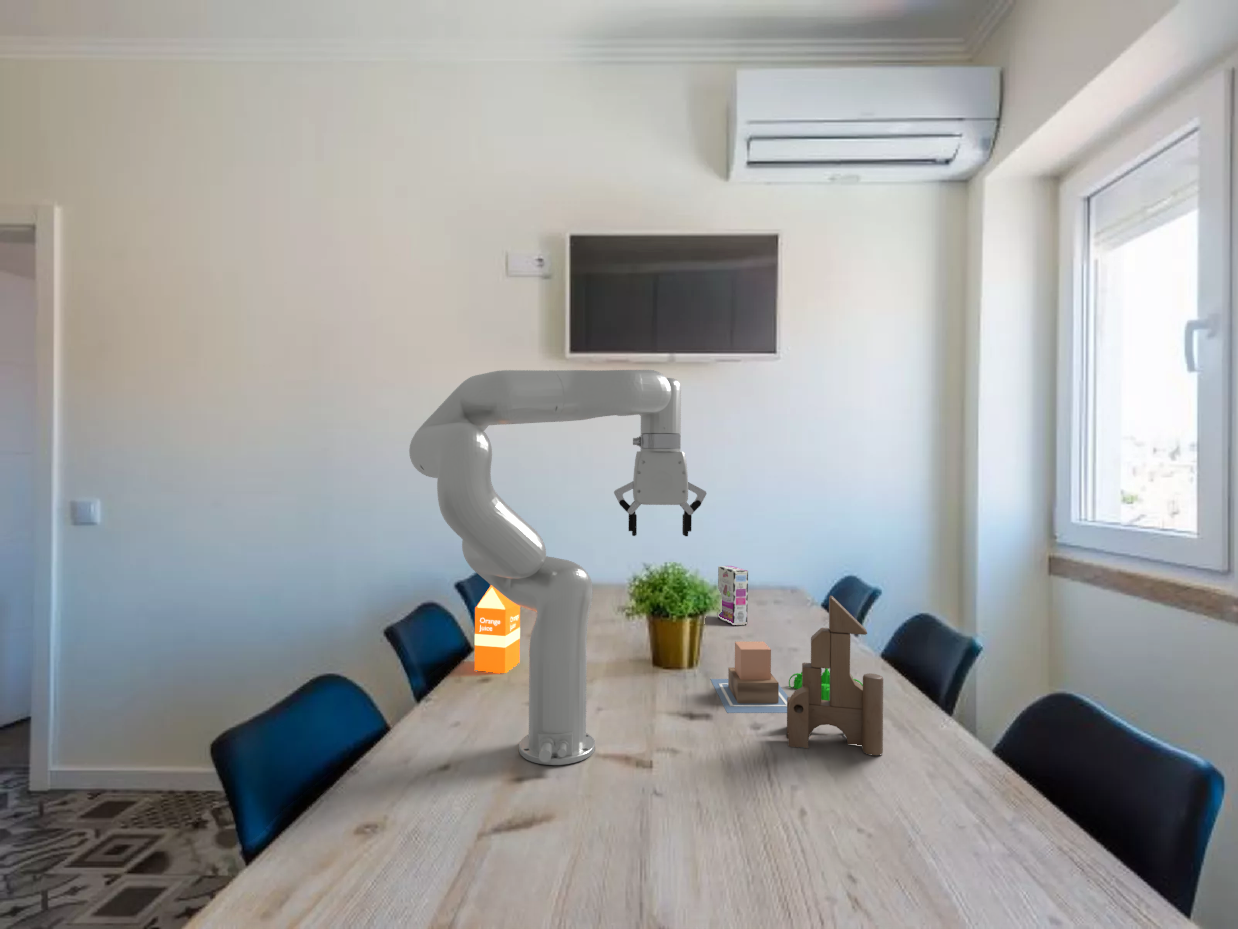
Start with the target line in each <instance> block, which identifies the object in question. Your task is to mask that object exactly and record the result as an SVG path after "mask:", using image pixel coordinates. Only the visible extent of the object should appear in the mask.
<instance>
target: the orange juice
mask: <svg viewBox="0 0 1238 929" xmlns="http://www.w3.org/2000/svg"><path fill="white" fill-rule="evenodd" d="M520 640H521V606H518V605H516V604H515V603H513V602H512V601H510V600H509V599H508V598H506V597H505V596H504V595H503V594H501V593H500V592H499V591H498V590H497V589H495V588H494V587H493V586H492V585H491V584H490V585H489V588H488V589H487V591H486V592H485V594H484V595H483V596H482V598H481V599H480V601H479V602H478V603H477V605H476V606H475V607H474V671H475V670H478V671H486V672H485V673H488V672H493V673H492V674H500V673H506V674H507V673H508V672H509V670H510V671H511V670H512V669H514V668H515V667H516V666H518V665H519V664H520V662H521V661H520V656H521V655H520V651H521V650H520V646H521V645H520V643H521V641H520ZM518 663H519V664H518ZM517 664H518V665H517ZM513 667H514V668H513Z"/></svg>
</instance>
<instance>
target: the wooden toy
mask: <svg viewBox="0 0 1238 929" xmlns="http://www.w3.org/2000/svg"><path fill="white" fill-rule="evenodd" d="M851 635H863V636H864V635H865V636H866V635H868V632H867V629H866V627H864V626H863V625H862V624H861V622H859V621H858V620H857V619H856V618H855V617H854V616H853V615H852V614H851V613H850V612H849V611H848V610H847V609H846V608H845V606H843V605H842V604H841V603H840V602H839V601H838V600H837V599H836V598H835V597H834V596H833V595H829V598H828V627H820V628H819V629H818V630H817V631H816V632H815V633H814V634H813V635H811V637H810V662H802V664H801V672H802V687H801V688H799V689H798V690H797V689H796V690H795V691H794V692H793V693H792V694H791V696H788V698H787V713H786V738H787V740H788V745H787V746H788V747H790V748H799V747H804V748H803V749H809V740H810V736H811V733H812V732H813V731H814V730H815V729H816V728H818V727H820V726H827V725H829V726H833V727H836V728H837V729H839V731H841V732H842V733H843V735H844V737H845V738H846V742H847V745H848V744H857V745H862V747H861V748H862V750H861V751H862V752H863V751H864V752H865V753H867V754H872V755H880V754H882V755H883V752H884V677H883V676H882V675H880V674H877V673H864V674H863V676H862V684H863V686H862V685H861V684H860V683H859V682H857V681H855V680H854V679H855V678H854V677H853V675H852V674H851ZM825 668H826V669H828V670H829V673H830V684H829V685H830V693H829V700H830V701H828V700H821V684H822V682H821V680H822V673H823V672H822V671H823V670H822V669H825ZM851 675H852V676H851ZM864 752H863V753H864ZM865 753H864V754H865ZM867 754H866V755H867ZM880 756H881V755H880Z"/></svg>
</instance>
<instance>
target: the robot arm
mask: <svg viewBox="0 0 1238 929" xmlns="http://www.w3.org/2000/svg"><path fill="white" fill-rule="evenodd" d="M681 407H682V386H681V383H680V381H679V380H678V379H676V378H672V377H666V376H665V375H664V374H663V373H661V372H660V371H657V370H655V369H609V370H608V369H605V370H593V369H592V370H586V369H572V370H571V369H569V370H568V369H567V370H566V369H565V370H553V369H552V370H551V369H550V370H543V369H542V370H534V369H533V370H531V369H529V370H528V369H527V370H521V369H519V370H517V369H516V370H513V369H512V370H511V369H508V370H507V369H506V370H505V369H504V370H495V371H489V372H485V373H481V374H480V373H479V374H475V375H473V376H470V377H468V378H467V379H465V380H464V381H463V382H461V384H459V385H458V386H457V387H456V388H455V389H454V390H453V391H452V392H451V393H450V395H449V396H447V397H446V399H445V400H444V401H443V402H442V403H441V404H440V406H438V407H437V409H436V410H435V411H434V412H432V414H431V415H430V416H429V417H428V418H427V419H426V421H424V422H423V423H422V424H421V426H419V428H418V429H417V430H416V431H415V433H414V434H413V437H412V438H411V441H410V443H409V450H408V451H409V457H410V462H411V464H412V466H413V467H414V468H415V469H416V471H418V472H419V473H421V475H423V476H426V477H428V478H432V479H437V482H436V483H437V484H436V489H437V502H438V506H439V510H440V513H441V516H442V518H443V519H444V521H445V523H446V524H447V525H448V527H449V528H450V529H451V530H452V531H453V532H454V533H455V534H456V535H457V536H458V537H460V538H461V539H462V541H461V542H462V543H461V547H462V548H461V549H462V554H463V557H464V559H465V560H466V563H467V564H468V566H469V567H470V568H471V569H472V570H473V572H475V573H476V574H478V575H479V576H480V577H481V578H482V579H483V580H484V581H486V582H487V583H488V584H489V585H490V586H491V585H492V586H493V587H494V588H495V589H497V590H498V591H499V592H500V593H501V594H503V595H504V596H505V597H506V598H508V599H509V600H510V601H512V602H513V603H515V604H516V605H518V606H520V608H523V609H526V610H530V611H533V612H536V617H535V621H534V623H533V626H532V629H531V632H530V636H529V641H528V642H529V644H528V660H529V661H528V662H529V663H528V664H529V665H528V666H529V667H528V668H529V670H528V734H527V735H525V736H524V737H523V738H522V739H520V741H519V744H518V752H519V755H520V756H521V757H522V758H523V759H525V760H527V761H529V762H531V763H535V764H539V765H545V766H563V765H569V764H570V765H571V764H575V763H578V762H582V761H583V760H586V759H588V758H589V757H591V756H592V755H593V753H594V752H595V750H596V740H595V738H594V737H593V736H592V735H590V733H587V664H588V663H587V658H588V656H587V643H588V642H587V638H588V637H587V636H588V624H589V623H588V622H589V618H590V617H589V616H590V612H591V608H592V602H593V596H594V594H593V593H594V590H593V589H594V588H593V582H592V579H591V576H590V575H589V573H588V572H587V570H586V569H585V568H584V567H582V566H581V565H580V564H578V563H577V562H575V561H572V560H568V559H562V558H557V557H554V556H553V557H552V556H548V555H547V548H546V546H545V543H544V541H543V538H542V536H541V535H540V534H539V533H538V531H537V530H536V528H534V527H532V525H530V524H529V523H528V522H527V521H526V520H525V519H524V518H522V516H520V515H519V514H518V513H517V512H516V511H515V510H514V509H513V508H512V507H510V505H508V504H507V503H506V502H505V501H504V499H503V498H501V496H500V495H499V494H498V493H497V492H496V490H495V489H494V485H493V483H492V476H491V470H492V462H493V447H492V444H491V441H490V438H489V436H488V435H487V433H486V432H485V430H486V429H487V428H488V427H489V426H499V425H501V426H502V425H503V426H504V425H518V424H519V425H521V424H522V425H523V424H539V423H557V422H559V423H560V422H561V423H562V422H575V421H576V422H577V421H584V420H591V419H595V418H602V417H610V416H618V417H626V416H627V417H628V416H637V415H638V416H640V435H639V436H638V437H633V438H632V445H633V446H636V447H639V448H640V451H636V453H635V454H636V455H635V459H634V466H633V467H634V468H633V480H632V481H630V482H629V483H627V484H624V485H623V486H620V487H618V488H617V489H615V490H614V491H613V494H614V496H615V498H616V499H617V500H616V501H617V502H618V503H619V506H620V507H621V508H622V509H623V510H624V511H625V512H626V513H627V514H628V532H631V535H632V537H636V536H637V530H638V528H637V520H638V519H637V518H638V516H637V514H636V511H637V510H638V508H640V506H641V505H646V506H648V505H650V506H651V505H653V506H654V505H655V506H662V505H663V506H680V507H681V509H683V514H682V527H681V528H682V535H683V536H684V537H689V533H690V532H692V515H693V514H694V513H695V512H696V511H697V510H698V509H699V508H700V507H701V506H702V503H703V501H704V499H705V498H706V495H707V491H706V490H704V489H702V488H700V487H698V486H697V485H695V484H693V483H691V482H689V479H688V476H689V475H688V463H687V458H686V456H687V455H686V453H685V451H681V446H682V444H681V434H682V432H681V429H682V428H681V427H682V426H681V422H682V420H681V419H682V417H681V416H682V414H681V413H682V412H681V411H682V410H681V409H682V408H681ZM631 490H632V497H633V502H631V504H629V503H628V502H627V501H626V500H625V498H624V494H625V493H627V492H629V491H631ZM689 491H691V492H692V493H694V494H696V497H695V500H693V502H691V504H690V505H689V503H688V500H689Z"/></svg>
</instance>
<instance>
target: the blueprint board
mask: <svg viewBox="0 0 1238 929" xmlns="http://www.w3.org/2000/svg"><path fill="white" fill-rule="evenodd" d="M710 682H711V683H712V685H713V688H714V689H715V691H716V693H717V695H718V697H719V699H720V701H721V704H722V705H723V707H724V709H725V711H726V713H727V714H787V698H788V697H789V695H788V694H787V693H786V691H784V689H783V688H782V687H781V685H779V701H778V703H737V701H736V699H735V697H734V696H733V694H732V692H731V690H730V689H729V687H728V678H710Z"/></svg>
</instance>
